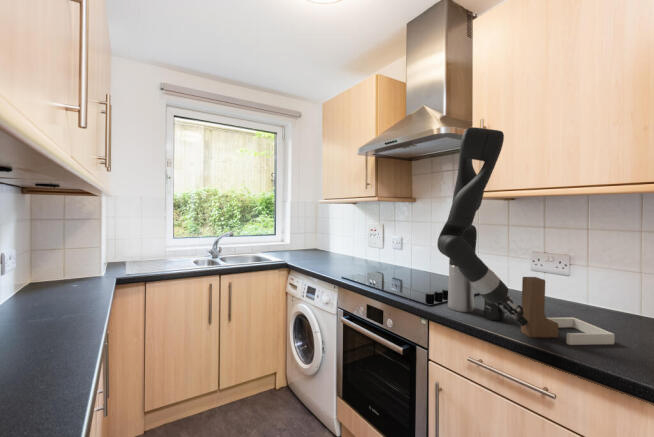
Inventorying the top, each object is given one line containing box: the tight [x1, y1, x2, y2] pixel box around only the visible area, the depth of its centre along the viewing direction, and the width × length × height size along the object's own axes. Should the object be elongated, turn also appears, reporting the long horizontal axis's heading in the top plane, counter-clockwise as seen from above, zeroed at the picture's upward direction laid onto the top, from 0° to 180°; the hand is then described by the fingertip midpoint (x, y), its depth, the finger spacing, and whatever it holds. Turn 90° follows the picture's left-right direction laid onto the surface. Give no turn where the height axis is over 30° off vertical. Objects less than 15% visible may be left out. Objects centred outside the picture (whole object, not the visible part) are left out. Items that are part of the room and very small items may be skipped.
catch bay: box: [546, 316, 615, 346], centre depth 98 cm, size 14×14×3 cm
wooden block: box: [520, 276, 559, 338], centre depth 97 cm, size 9×4×18 cm, turn 91°
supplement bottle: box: [483, 298, 506, 322], centre depth 112 cm, size 7×7×12 cm
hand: (524, 323), depth 97 cm, fingers closed
